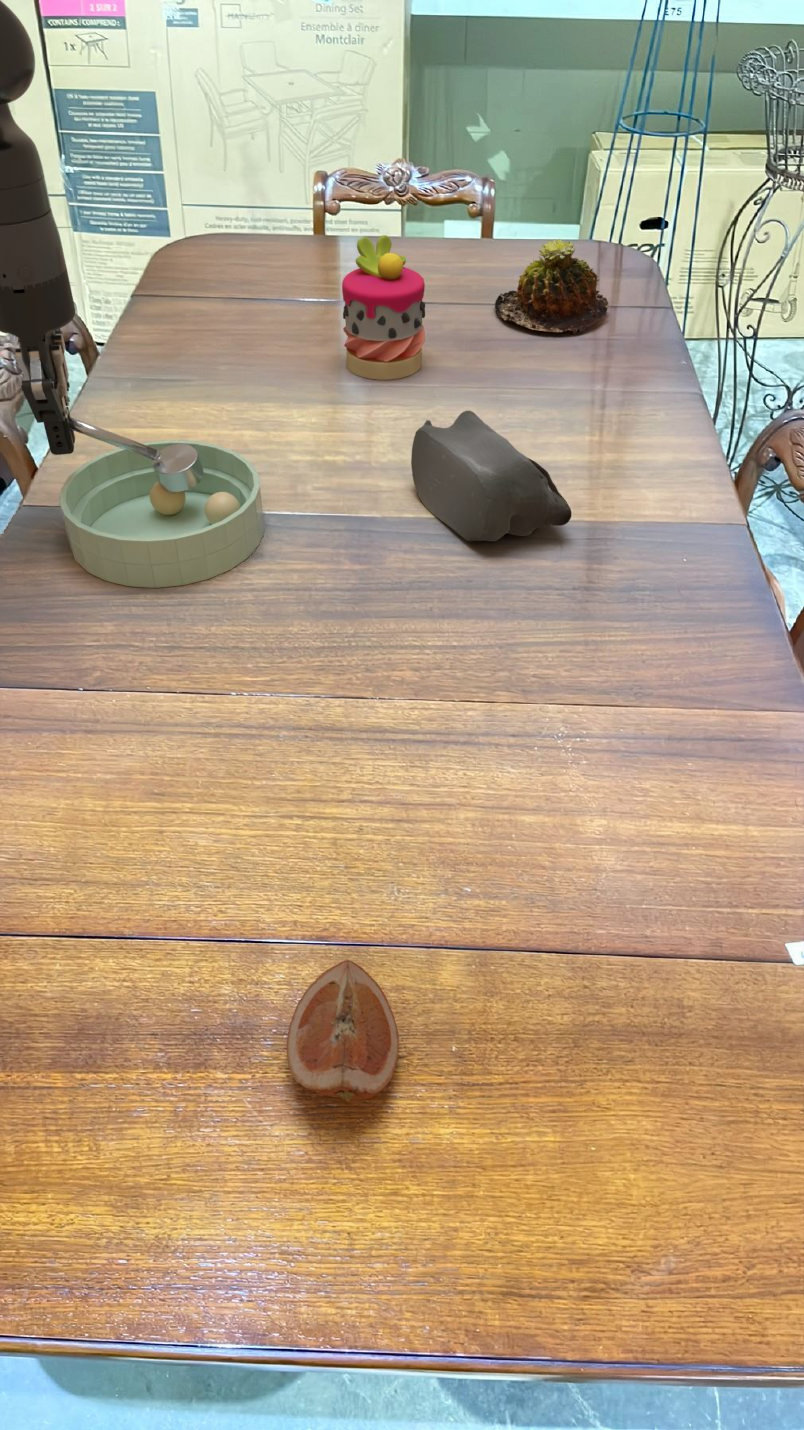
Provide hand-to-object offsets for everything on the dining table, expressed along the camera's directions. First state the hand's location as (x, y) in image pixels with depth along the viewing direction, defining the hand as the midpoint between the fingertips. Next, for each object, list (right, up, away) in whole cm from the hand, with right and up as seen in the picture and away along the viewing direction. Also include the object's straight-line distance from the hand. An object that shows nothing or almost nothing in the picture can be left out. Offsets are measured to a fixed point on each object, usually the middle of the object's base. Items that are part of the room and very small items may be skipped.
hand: (63, 448), depth 105 cm
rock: (+42, -4, +9) cm, 43 cm away
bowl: (+9, -8, +4) cm, 13 cm away
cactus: (+54, +31, +49) cm, 79 cm away
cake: (+31, +20, +36) cm, 51 cm away
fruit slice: (+29, -47, -39) cm, 68 cm away
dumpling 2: (+13, -5, +5) cm, 15 cm away
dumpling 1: (+10, -5, +5) cm, 12 cm away
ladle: (+6, -2, +5) cm, 8 cm away
